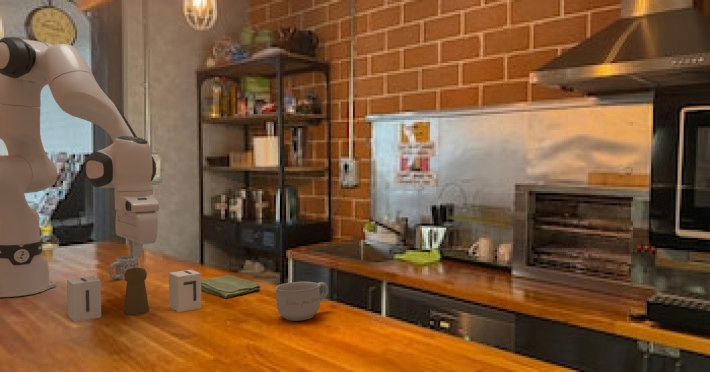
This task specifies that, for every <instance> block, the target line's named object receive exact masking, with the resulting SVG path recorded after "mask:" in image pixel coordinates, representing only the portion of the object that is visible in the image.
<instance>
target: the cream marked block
mask: <svg viewBox="0 0 710 372" xmlns="http://www.w3.org/2000/svg"><path fill="white" fill-rule="evenodd" d="M201 279H202V273H201V272H199V271H195V270H194V269H187V270H186V269H185V270H179V271H178V270H177V271H173V272H172V271H171V272H168V294H169V296H168V299H169V301H168V302H169V305H168V306H169V308H171V310H174V311H175V310H176V312H177V313H182V312H187V311H193V310H198V309H202V291H201Z"/></svg>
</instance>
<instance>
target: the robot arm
mask: <svg viewBox="0 0 710 372" xmlns="http://www.w3.org/2000/svg"><path fill="white" fill-rule="evenodd" d="M47 85H48V87H49V91H50V92H51V95H52V98H53V99H54V101H55V103H56V104H57V106H58V107H59V108H60V109H61V110H62V111H63V112H64V113H65V114H68V115H70V116H72V117H74V118H78V119H81V120H84V121H87V122H90V123H91V124H94V125H97V126H98V127H100V128H102V129H103V130H104V131H105V132H106V133H107V134H108V135H109V137H110V139H111V141H112V143H111V144H109V145H108V146H107V147H105V148H102V149H99V150H96V151H92V152H91V153H90V154H89V155H88V157H87V158H86V159H85V163H84V167H83V168H84V175H85V178H86V180H87V181H88V183H89V184H90V185H91V186H92V187H94V188H99V189H112V188H113V189H114V210H115V211H116V212H115V234H116V236H118V237H120V238H124V239H127V245H128V249H129V255H130V257H133V258H135V259H137V258H138V259H141V257H142V249H143V246H144V245H147V244H155V243H156V241H157V238H158V225H159V224H158V222H159V221H158V219H159V218H158V213H157V212H159V210H160V202H159V201H158V200H157V199H156V198H155V195H154V188H153V184H152V182H153V180H154V179H155V176H156V174H157V163H156V160H155V158H154V157H153V156H152V149H151V146H150V143H149V141H148V140H146V139H145V138H142V137H138V136H137V134H136V133H135V131H134V130H133V128H132V126H131V123H129V121H128V119H127V118H126V116H125V114H124V113H123V112H122V110H121V109H120V107H119V106H118V105H117V104H116V103H115V102H114V101H113V100H111V99H110V98H109V96H107V94H106V93H105V92H104V91H103V90H102V88H101V87H100V85H99V83H98V82H97V81H96V78H95V76H94V75H93V72H92V70H91V68H90V66H89V65H88V62H87V61H86V59H85V58H84V56H83V55H82V53H80V51H79V50H78V49H77V48H76V47H75V46H73V45H70V44H68V43H57V44H53V43H49V42H46V41H41V40H38V41H37V40H32V39H24V38H20V37H15V36H11V37H10V36H7V37H2V38H0V139H1V140H2V142H3V143H4V145H5V147H6V150H7V154H6V155H3V154H2V155H0V298H14V297H22V296H29V295H34V294H39V293H42V292H45V291H47V290H49V289H52V288H56V287H57V282H55V281H51V279H50V277H51V275H50V265H49V260H48V259H47V258H46V257H44V255H43V254H42V253H43V244H42V243H43V242H42V240H41V231H40V228H41V227H40V224H41V223H40V215H39V213H38V212H37V211H36V210H35V209H33V208H31V206H30V205H29V203H28V201H27V199H26V196H25V195H26V194H29V193H31V194H32V193H39V192H41V191H45V190H47V189H50V188H51V187H53V186H54V185H55V183H56V182H57V179H58V174H59V173H58V167H57V166H56V164H55V163H54V162H53V160H51V158H49V156H48V155H47V153H46V151H45V148H44V146H43V142H42V135H41V105H42V104H41V102H42V101H41V93H42V90H43V89H44V87H46V86H47Z"/></svg>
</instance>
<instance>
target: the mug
mask: <svg viewBox="0 0 710 372" xmlns="http://www.w3.org/2000/svg"><path fill="white" fill-rule="evenodd" d="M114 267H115V274H114ZM131 268H139V258H137V259H135V258H133V257H130V254H129V255H121V256H117V257H115V261H114V262H112V263H111V264H110V265H109V267H108V272H109V273H108V274H109V277H110V279H112V280H113V279H115V280H118V281H126V280H125V277H124V275H125V272H126V270H128V269H131Z"/></svg>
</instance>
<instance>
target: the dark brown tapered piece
mask: <svg viewBox="0 0 710 372" xmlns="http://www.w3.org/2000/svg"><path fill="white" fill-rule="evenodd" d="M147 276H148V272H147V270H146V269H145V268H143V267H138V268H131V269H128V270H126V272H125V275H124V277H125V280H124V281H126V289H125V297H124V306H123V315H125V314H126V315H125V316H141V315H145V314H148V313H149V312H150V306H149V300H148V293H147V287H146V286H147V285H146V279H147ZM147 312H148V313H147ZM140 314H141V315H140Z"/></svg>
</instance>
